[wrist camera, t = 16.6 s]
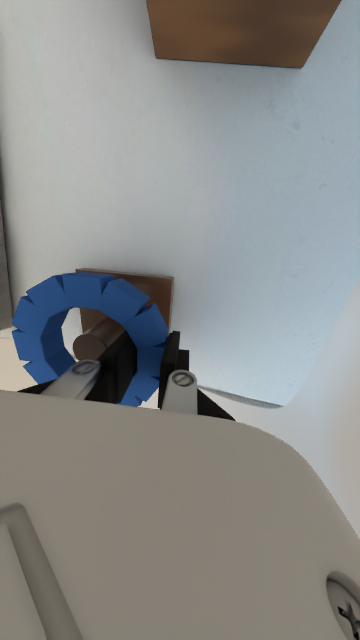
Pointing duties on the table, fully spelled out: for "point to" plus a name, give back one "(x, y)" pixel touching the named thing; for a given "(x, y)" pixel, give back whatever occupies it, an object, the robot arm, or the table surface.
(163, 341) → the ring
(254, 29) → the stand
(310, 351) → the table surface
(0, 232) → the picture frame
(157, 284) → the post
